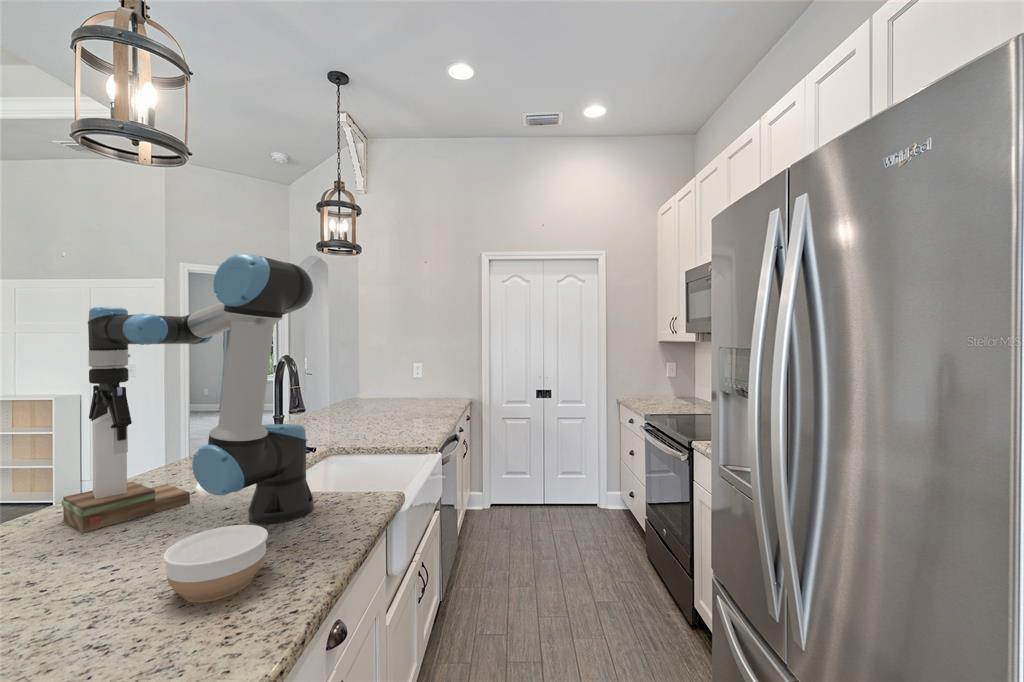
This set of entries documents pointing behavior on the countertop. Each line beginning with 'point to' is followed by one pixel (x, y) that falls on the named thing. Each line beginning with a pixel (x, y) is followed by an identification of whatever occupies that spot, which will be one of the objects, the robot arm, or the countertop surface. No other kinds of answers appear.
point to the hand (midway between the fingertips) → (109, 449)
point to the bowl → (215, 562)
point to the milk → (107, 461)
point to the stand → (120, 505)
